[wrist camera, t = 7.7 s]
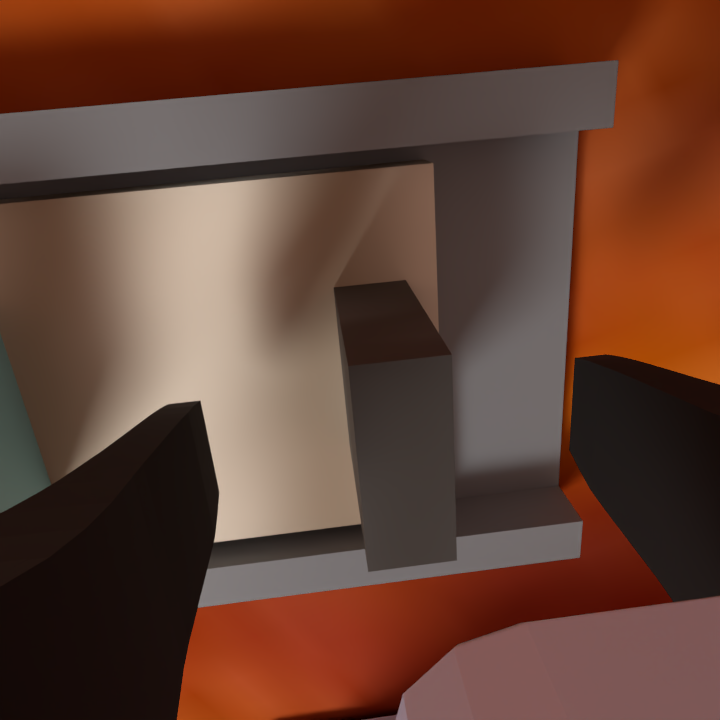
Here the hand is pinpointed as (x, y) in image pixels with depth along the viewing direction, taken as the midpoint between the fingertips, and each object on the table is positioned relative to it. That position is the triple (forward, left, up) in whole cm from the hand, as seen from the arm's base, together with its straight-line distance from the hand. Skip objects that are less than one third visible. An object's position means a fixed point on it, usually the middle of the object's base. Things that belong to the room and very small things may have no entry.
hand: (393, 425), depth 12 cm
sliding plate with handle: (+7, 0, -4) cm, 8 cm away
